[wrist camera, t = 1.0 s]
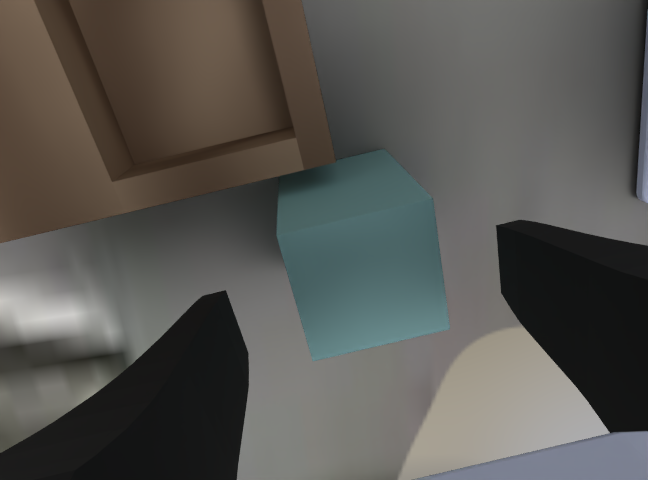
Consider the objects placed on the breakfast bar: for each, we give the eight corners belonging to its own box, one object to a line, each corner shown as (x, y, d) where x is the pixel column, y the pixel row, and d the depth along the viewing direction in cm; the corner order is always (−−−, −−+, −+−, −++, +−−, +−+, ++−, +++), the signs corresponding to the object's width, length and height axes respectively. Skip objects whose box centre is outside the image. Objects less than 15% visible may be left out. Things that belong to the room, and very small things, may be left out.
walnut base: (272, -108, 13) (269, -148, 11) (327, 143, 16) (336, 162, 14) (-84, -19, 14) (-178, -35, 11) (35, 213, 17) (-14, 246, 14)
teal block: (384, 148, 17) (432, 198, 11) (400, 244, 18) (449, 329, 13) (279, 173, 17) (276, 235, 11) (304, 267, 18) (312, 361, 13)
